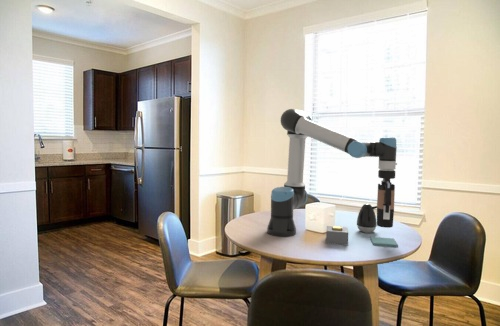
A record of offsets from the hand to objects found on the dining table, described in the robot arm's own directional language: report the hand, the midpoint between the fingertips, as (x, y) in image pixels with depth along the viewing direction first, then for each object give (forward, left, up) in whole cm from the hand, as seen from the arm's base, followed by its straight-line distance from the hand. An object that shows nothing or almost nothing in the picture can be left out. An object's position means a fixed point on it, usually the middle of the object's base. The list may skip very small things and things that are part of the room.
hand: (385, 217), depth 166 cm
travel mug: (0, 0, -4) cm, 4 cm away
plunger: (-22, -4, -11) cm, 25 cm away
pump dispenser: (-6, +19, -13) cm, 24 cm away
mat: (0, 0, -12) cm, 12 cm away
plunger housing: (-22, -4, -12) cm, 26 cm away
